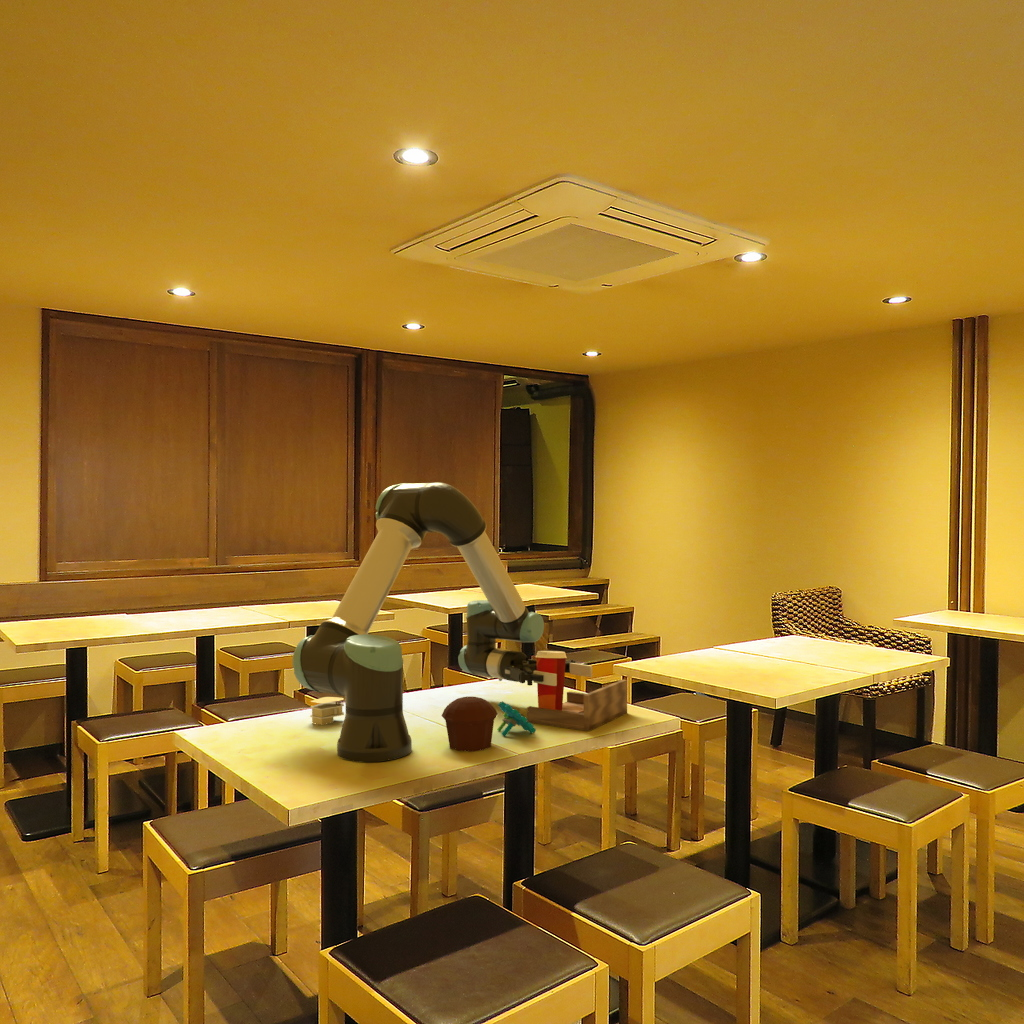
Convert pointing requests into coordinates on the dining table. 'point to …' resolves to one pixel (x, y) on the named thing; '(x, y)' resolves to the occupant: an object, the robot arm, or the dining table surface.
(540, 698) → the paper cup
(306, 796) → the dining table surface
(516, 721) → the teal toy figurine
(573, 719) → the bay
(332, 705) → the tan layered block
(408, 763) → the dining table surface
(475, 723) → the muffin
